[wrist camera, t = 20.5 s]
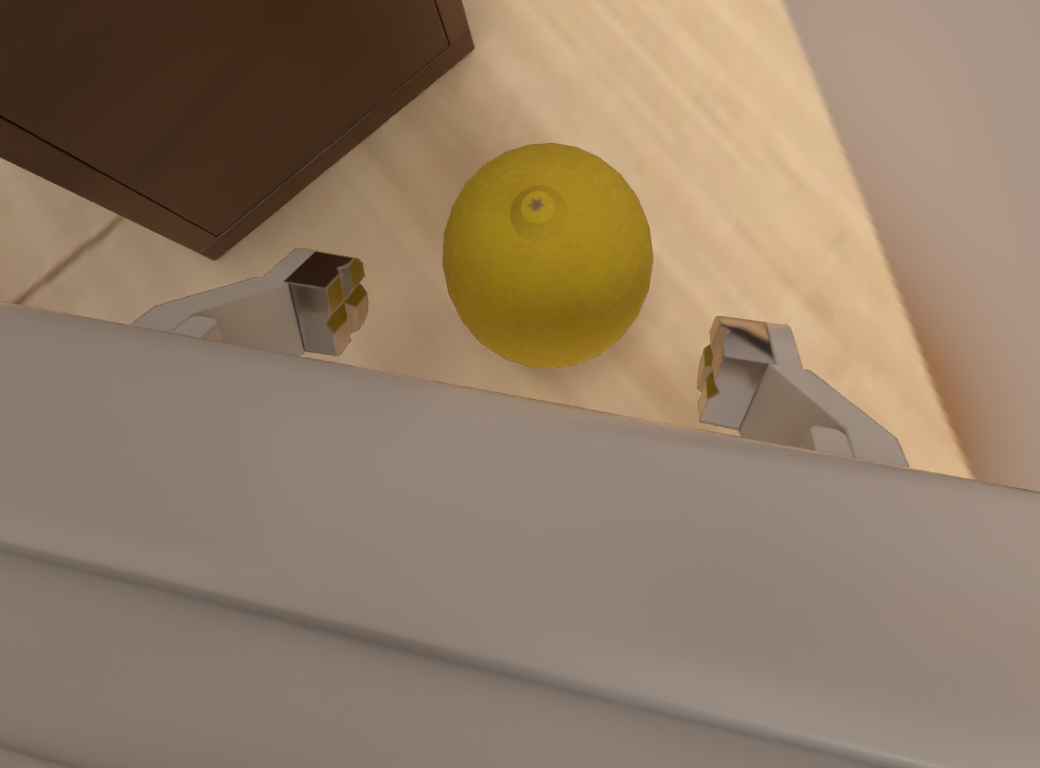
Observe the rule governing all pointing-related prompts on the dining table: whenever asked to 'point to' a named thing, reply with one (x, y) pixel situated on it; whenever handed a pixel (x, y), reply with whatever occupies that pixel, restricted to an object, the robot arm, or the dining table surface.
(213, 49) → the chest
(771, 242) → the dining table surface
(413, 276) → the dining table surface
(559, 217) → the lemon
